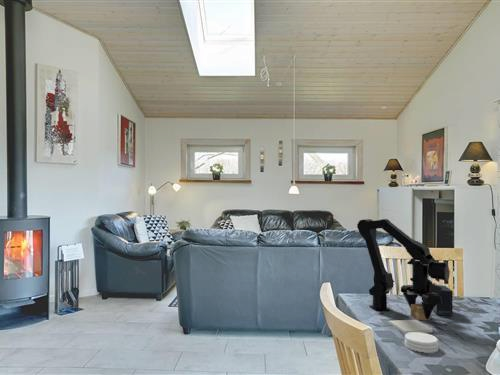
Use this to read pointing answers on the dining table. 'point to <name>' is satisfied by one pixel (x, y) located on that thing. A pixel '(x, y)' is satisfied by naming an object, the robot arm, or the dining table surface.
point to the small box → (444, 302)
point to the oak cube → (418, 312)
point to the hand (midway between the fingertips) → (420, 315)
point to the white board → (410, 326)
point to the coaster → (421, 342)
